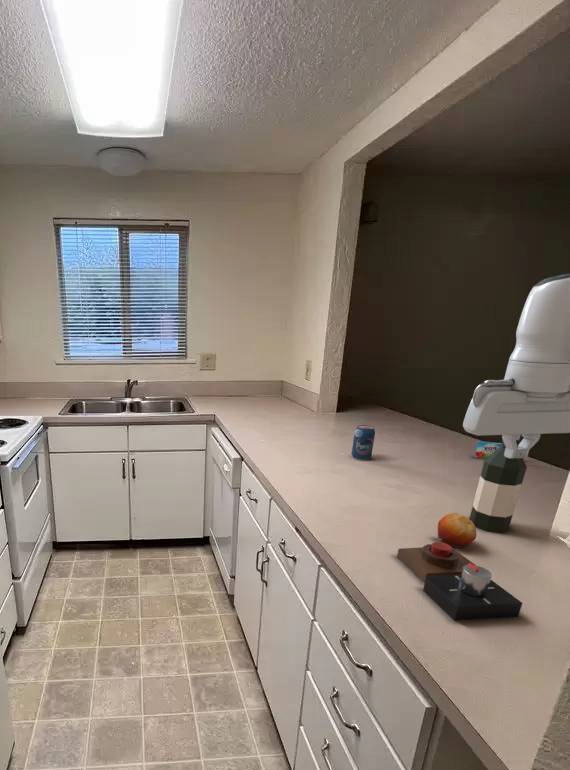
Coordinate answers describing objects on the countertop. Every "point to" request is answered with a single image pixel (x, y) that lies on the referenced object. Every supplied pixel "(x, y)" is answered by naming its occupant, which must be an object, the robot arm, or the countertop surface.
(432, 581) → the dial panel
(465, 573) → the dial
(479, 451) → the yogurt
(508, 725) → the countertop surface
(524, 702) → the countertop surface
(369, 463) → the countertop surface
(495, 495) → the wine bottle
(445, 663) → the countertop surface
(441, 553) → the red button
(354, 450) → the soda can
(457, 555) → the button box
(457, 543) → the fruit
